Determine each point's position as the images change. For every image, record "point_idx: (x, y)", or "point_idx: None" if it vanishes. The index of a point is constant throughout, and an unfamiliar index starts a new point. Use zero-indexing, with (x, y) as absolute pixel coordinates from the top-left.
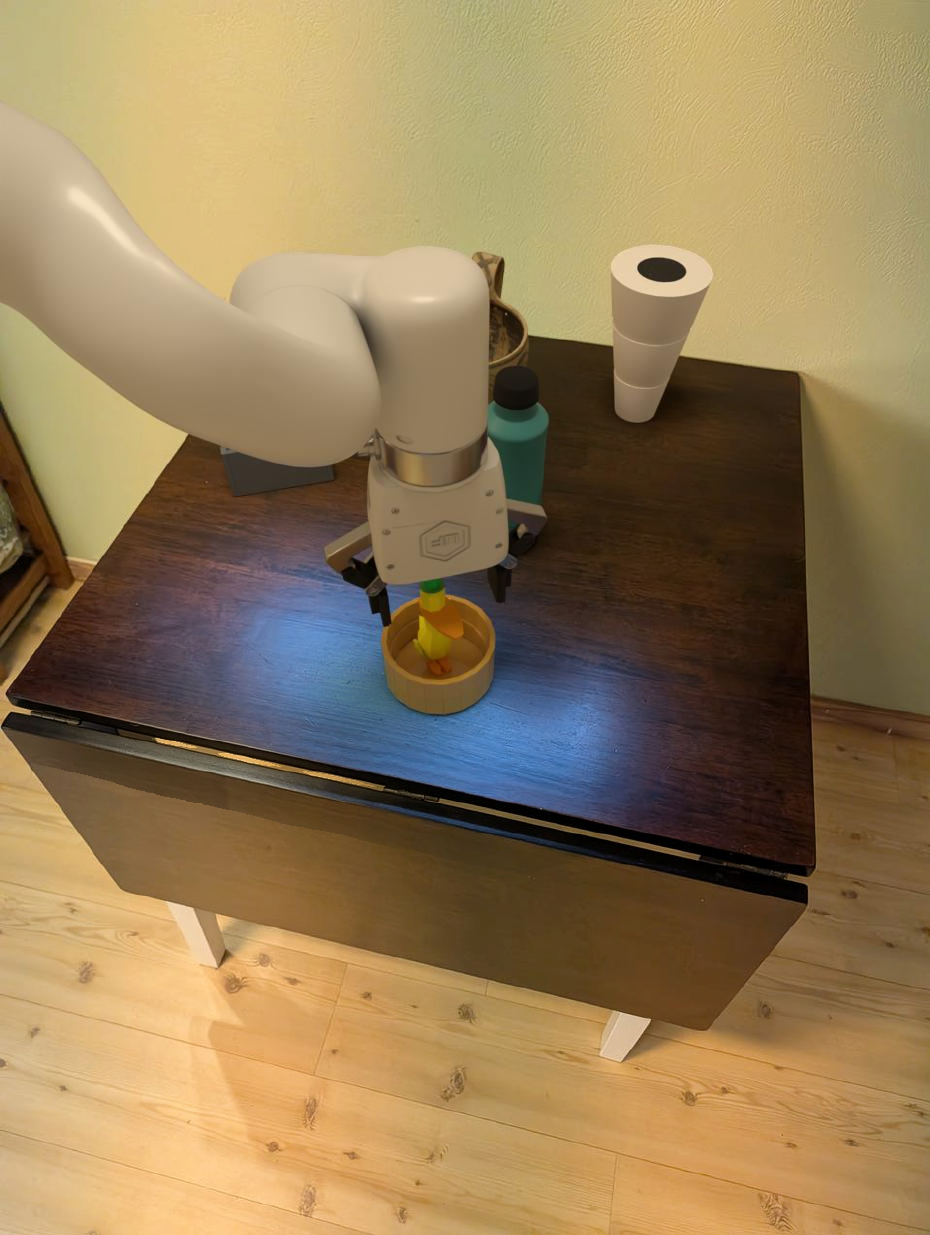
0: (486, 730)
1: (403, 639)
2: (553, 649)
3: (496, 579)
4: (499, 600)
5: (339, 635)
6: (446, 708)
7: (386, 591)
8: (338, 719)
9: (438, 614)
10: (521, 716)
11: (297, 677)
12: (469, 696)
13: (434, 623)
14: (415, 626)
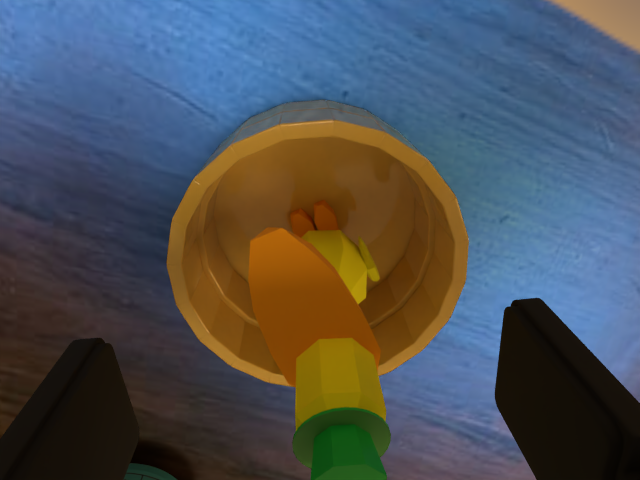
0: (232, 41)
1: (381, 295)
2: (63, 233)
3: (50, 451)
4: (89, 348)
5: (491, 323)
6: (320, 102)
7: (608, 457)
8: (549, 132)
9: (325, 326)
10: (145, 67)
11: (596, 245)
12: (260, 118)
13: (345, 295)
14: None
